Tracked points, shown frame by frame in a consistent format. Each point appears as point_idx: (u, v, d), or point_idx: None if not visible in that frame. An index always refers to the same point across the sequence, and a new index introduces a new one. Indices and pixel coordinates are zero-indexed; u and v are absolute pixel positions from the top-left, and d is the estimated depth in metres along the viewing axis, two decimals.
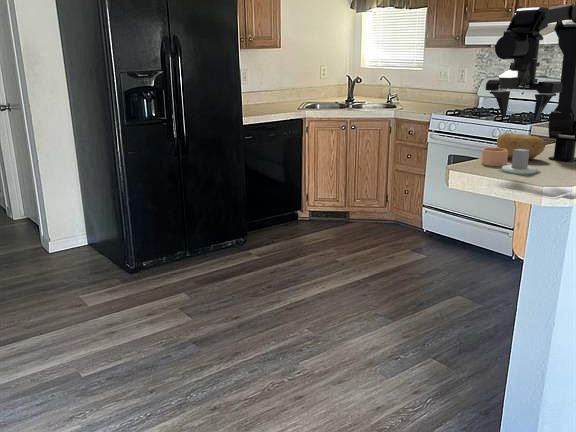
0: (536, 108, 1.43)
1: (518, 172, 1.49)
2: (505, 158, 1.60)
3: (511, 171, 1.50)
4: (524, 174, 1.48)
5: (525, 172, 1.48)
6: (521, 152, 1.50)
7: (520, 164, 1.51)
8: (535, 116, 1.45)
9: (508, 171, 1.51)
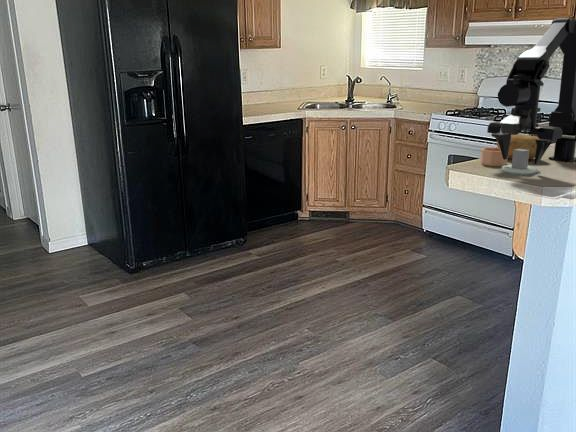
0: (537, 152, 1.47)
1: (518, 172, 1.49)
2: None
3: (511, 171, 1.50)
4: (524, 174, 1.48)
5: (525, 172, 1.48)
6: (521, 152, 1.50)
7: (520, 164, 1.51)
8: (536, 160, 1.48)
9: (508, 171, 1.51)
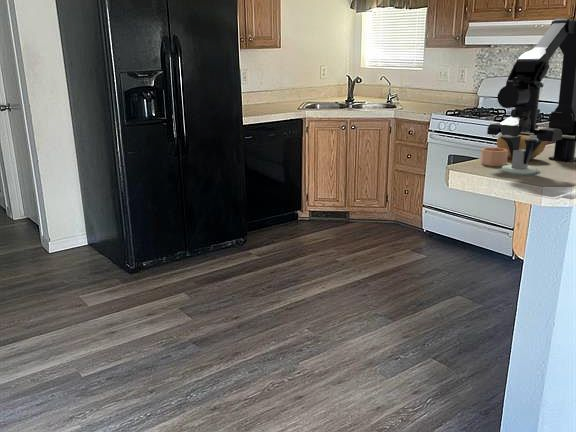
0: (526, 152, 1.49)
1: (518, 172, 1.49)
2: (505, 158, 1.60)
3: (511, 171, 1.50)
4: (524, 174, 1.48)
5: (525, 172, 1.48)
6: (521, 152, 1.50)
7: (520, 164, 1.51)
8: (525, 160, 1.50)
9: (508, 171, 1.51)
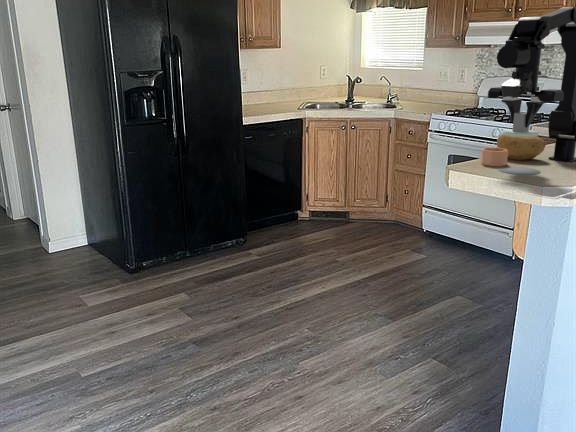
0: (527, 115, 1.47)
1: (519, 135, 1.47)
2: (505, 158, 1.60)
3: (512, 134, 1.48)
4: (524, 174, 1.48)
5: (526, 135, 1.47)
6: (522, 115, 1.48)
7: (522, 127, 1.49)
8: (526, 123, 1.49)
9: (509, 134, 1.49)
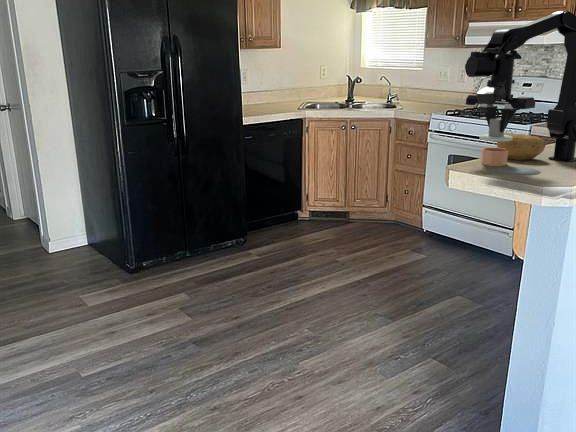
0: (502, 121, 1.57)
1: (494, 139, 1.57)
2: (505, 158, 1.60)
3: (488, 139, 1.58)
4: (524, 174, 1.48)
5: (501, 139, 1.57)
6: (497, 121, 1.58)
7: (497, 132, 1.59)
8: (501, 129, 1.58)
9: (485, 139, 1.59)
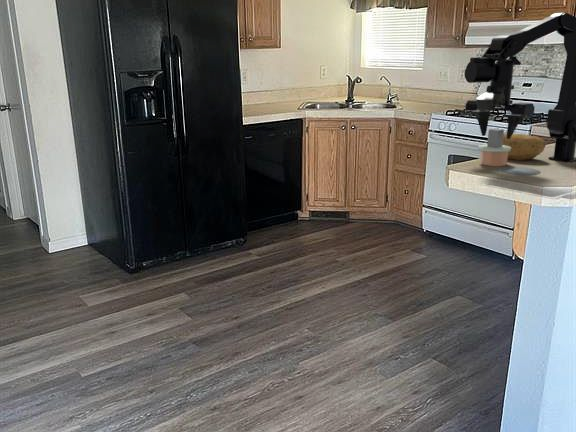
0: (508, 127, 1.56)
1: (493, 150, 1.58)
2: (505, 158, 1.60)
3: (486, 149, 1.59)
4: (524, 174, 1.48)
5: (499, 150, 1.58)
6: (496, 131, 1.59)
7: (495, 142, 1.60)
8: (508, 135, 1.57)
9: (484, 149, 1.60)
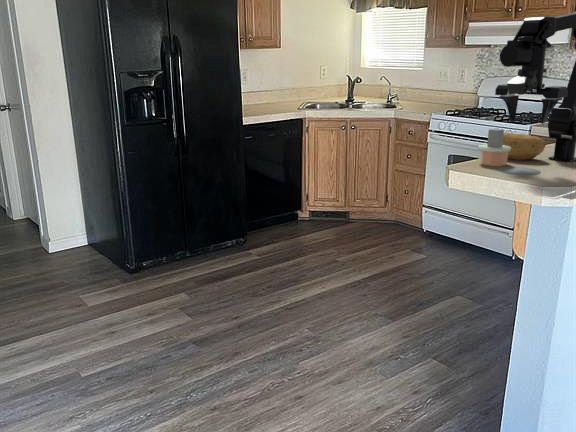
0: (543, 112, 1.52)
1: (493, 150, 1.58)
2: (505, 158, 1.60)
3: (486, 149, 1.59)
4: (524, 174, 1.48)
5: (499, 150, 1.58)
6: (496, 131, 1.59)
7: (495, 142, 1.60)
8: (542, 120, 1.53)
9: (484, 149, 1.60)
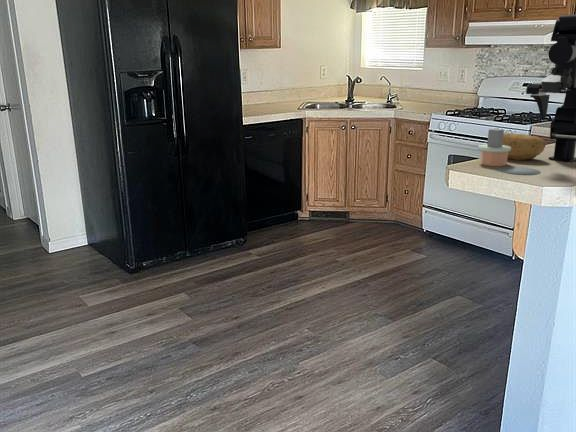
0: None
1: (493, 150, 1.58)
2: (505, 158, 1.60)
3: (486, 149, 1.59)
4: (524, 174, 1.48)
5: (499, 150, 1.58)
6: (496, 131, 1.59)
7: (495, 142, 1.60)
8: None
9: (484, 149, 1.60)
